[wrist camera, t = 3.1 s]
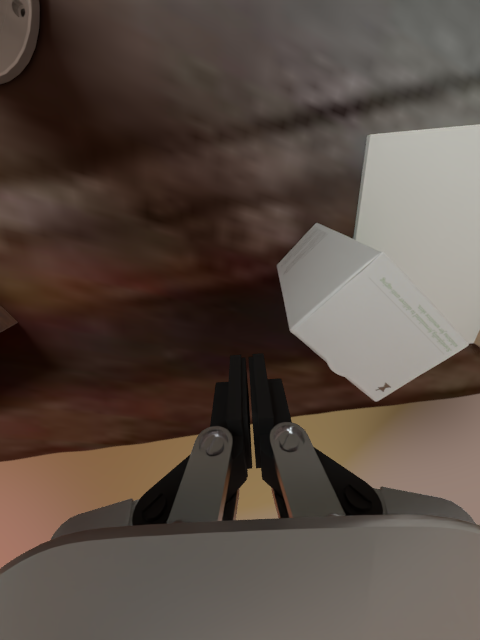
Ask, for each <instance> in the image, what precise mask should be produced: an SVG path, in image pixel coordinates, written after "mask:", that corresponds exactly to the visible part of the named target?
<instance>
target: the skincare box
mask: <svg viewBox="0 0 480 640" xmlns="http://www.w3.org/2000/svg"><path fill="white" fill-rule="evenodd" d="M277 270H278V275H279V279H280V285H281V289H282V294H283V299H284V304H285V309H286V314H287V319H288V324H289V329H290V332H291V333H293V334H294V335H296V336H297V337H298V338H299V339H300V340H301V341H303V342H304V343H305V344H306V345H307V346H308V347H309V348H311V349H312V350H313V351H314V352H315V353H316V354H318V355H319V356H320V357H321V358H322V359H323V360H325V361H326V362H327V364H328V366H329V367H330V369H331V370H332V371H333V372H335V373H336V374H338V375H340V376H343V377H345V378H347V379H348V380H349V381H350V382H351V383H353V384H354V385H355V386H356V387H357V388H359V389H360V390H361V391H362V392H364V393H365V394H366V395H367V396H369V397H370V398H371V399H373V400H374V401H376V402H377V401H379V400H380V399H382V398H384V397H385V396H387V395H389V394H390V393H392V392H394V391H395V390H397V389H398V388H400V387H402V386H403V385H405V384H406V383H408V382H410V381H411V380H413V379H414V378H416V377H418V376H419V375H421V374H423V373H424V372H426V371H428V370H429V369H431V368H433V367H434V366H436V365H438V364H439V363H441V362H443V361H445V360H446V359H448V358H449V357H451V356H453V355H454V354H456V353H457V352H459V351H461V350H462V349H464V348H465V347H467V346H468V345H469V344H468V342H467V341H466V340H465V339H464V338H463V337H462V336H461V335H460V333H459V332H458V331H457V330H456V329H455V328H454V327H453V326H452V324H451V323H450V322H449V321H448V320H447V319H446V318H445V317H444V316H443V314H442V313H441V312H440V311H439V310H438V309H437V308H436V307H435V306H434V305H433V304H432V302H431V301H430V300H429V299H428V298H427V297H426V296H425V295H424V294H423V292H422V291H421V290H420V289H419V288H418V287H417V286H416V285H415V284H414V283H413V282H412V280H411V279H410V278H409V277H408V276H407V275H406V274H405V273H404V272H403V271H402V270H401V269H400V268H399V267H398V266H397V265H396V263H395V262H394V261H393V260H392V259H391V258H390V257H389V256H388V255H386V254H385V253H384V252H381V251H378V250H376V249H373V248H371V247H369V246H367V245H365V244H363V243H360V242H358V241H356V240H354V239H352V238H349V237H347V236H345V235H343V234H341V233H339V232H336V231H334V230H332V229H330V228H328V227H325V226H323V225H321V224H319V223H316V224H315V225H314V226H313V227H312V228H311V229H310V230H309V231H308V232H307V233H306V234H305V235H304V236H303V237H302V238H301V240H300V241H299V242H298V243H297V244H296V245H295V246H294V247H293V248H292V249H291V250H290V251H289V253H288V254H287V255H286V256H285V257H284V258H283V259H282V260H281V261H280V262H279V263H278V264H277Z"/></svg>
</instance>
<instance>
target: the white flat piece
mask: <svg viewBox="0 0 480 640" xmlns="http://www.w3.org/2000/svg"><path fill="white" fill-rule="evenodd" d="M353 239H354V240H356V241H358V242H360V243H363V244H365V245H367V246H369V247H371V248H373V249H376V250H378V251H381V252H384V253H385V254H386V255H388V256H389V257H390V258H391V259H392V260H393V261H394V262H395V263H396V265H397V266H398V267H399V268H400V269H401V270H402V271H403V272H404V273H405V274H406V275H407V276H408V277H409V278H410V279H411V280H412V282H413V283H414V284H415V285H416V286H417V287H418V288H419V289H420V290H421V291H422V292H423V294H424V295H425V296H426V297H427V298H428V299H429V300H430V301H431V302H432V304H433V305H434V306H435V307H436V308H437V309H438V310H439V311H440V312H441V313H442V314H443V316H444V317H445V318H446V319H447V320H448V321H449V322H450V323H451V324H452V326H453V327H454V328H455V329H456V330H457V331H458V332H459V333H460V335H461V336H462V337H463V338H464V339H465V340H466V341H467V342H468V344H470V343H474V344H476V345H478V346H479V347H480V124H479V125H468V126H457V127H446V128H436V129H425V130H414V131H403V132H392V133H382V134H371V135H368V136H367V140H366V148H365V155H364V163H363V170H362V177H361V185H360V192H359V200H358V207H357V215H356V222H355V229H354V237H353Z"/></svg>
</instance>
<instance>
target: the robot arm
mask: <svg viewBox="0 0 480 640" xmlns="http://www.w3.org/2000/svg"><path fill="white" fill-rule="evenodd" d="M39 16H40V6H39V0H0V84H3V83H6V82H9V81H11V80H12V79H13V78H15V77H16V76H18V75H19V74H20V73H21V72H22V71H23V69H24V68H25V67H26V66H27V64H28V63H29V61H30V59H31V57H32V54H33V52H34V50H35V47H36V42H37V37H38V32H39ZM249 371H250V387H251V404H252V420H253V433H254V445H255V458H256V468H261V471H262V479H263V480H264V481H265V482H266V483H267V484H268V485H270V486H271V488H272V494H273V498H274V502H275V506H276V510H277V513H278V518H279V519H256V520H236V514H237V505H238V499H239V488H240V487H241V485H242V484H243V483H244V482H245V481H246V480H247V477H248V474H247V469H249V468H252V455H251V435H250V413H249V396H248V384H247V372H246V360H245V358H241V355H233V356H230V369H229V382H218V383H216V387H215V394H214V402H213V410H212V417H211V425H210V427H209V428H207V429H205V430H203V431H202V432H201V433H200V434H199V435H198V437H197V439H196V441H195V444H194V446H193V449H192V452H191V454H190V455H189V456H188V457H187V458H186V459H185V460H183V461H182V462H181V463H180V464H179V465H178V466H176V467H175V468H174V469H173V470H172V471H171V472H169V473H168V474H167V475H166V476H165V477H163V478H162V479H161V480H160V481H159V482H158V483H157V484H155V485H154V486H153V487H152V488H151V489H149V490H148V491H147V492H146V493H145V494H144V495H143V496H142V497H141V498H140V499H139V500H135V501H133V499H128V500H125V501H122V502H118V503H115V504H112V505H109V506H105V507H102V508H98V509H95V510H92V511H89V512H85V513H82V514H78V515H76V516H74V517H72V518H70V519H68V520H67V521H66V522H64V523H63V524H62V525H61V526H60V527H59V528H58V530H57V531H56V532H55V533H54V535H53V536H52V538H51V540H50V541H47V542H45V543H43V544H40V545H39V546H37V547H35V548H33V549H31V550H29V551H27V552H25V553H23V554H21V555H20V556H18V557H16V558H15V559H13V560H12V561H10V562H9V563H7V564H6V565H4V566H3V567H2V568H1V569H0V640H480V525H477V524H476V523H475V522H474V521H473V519H472V518H471V517H470V515H469V514H468V513H467V512H465V511H464V510H463V509H462V508H461V507H459V506H458V505H456V504H455V503H453V502H452V501H449V500H446V499H443V498H438V497H433V496H428V495H422V494H417V493H412V492H407V491H402V490H396V489H391V488H386V487H381V488H380V489H375V488H372V487H371V486H370V485H368V484H367V483H366V482H365V481H363V480H362V479H360V478H359V477H357V476H356V475H354V474H353V473H351V472H350V471H348V470H347V469H345V468H344V467H342V466H341V465H339V464H338V463H336V462H335V461H334V460H332V459H331V458H329V457H328V456H326V455H325V454H323V453H322V452H320V451H319V450H317V449H316V448H314V447H313V445H312V443H311V441H310V439H309V437H308V435H307V433H306V432H305V431H304V429H303V428H302V427H300V426H299V425H297V424H295V423H292V422H291V417H290V413H289V409H288V405H287V401H286V397H285V392H284V388H283V384H282V380H281V379H267V374H266V368H265V361H264V355H263V354H253V357H249Z"/></svg>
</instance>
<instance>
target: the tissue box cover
mask: <svg viewBox="0 0 480 640" xmlns="http://www.w3.org/2000/svg"><path fill="white" fill-rule="evenodd" d="M16 323H18V322H17V321H16V320H15V319H14V318H13V317H12V316H11V315H10V314H9V313H8V312H7V311H6V310H5V309H4V308H3V307H2V306H1V305H0V332H2V331H4V330H6V329H8V328H9V327H11V326H13V325H15V324H16Z"/></svg>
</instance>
